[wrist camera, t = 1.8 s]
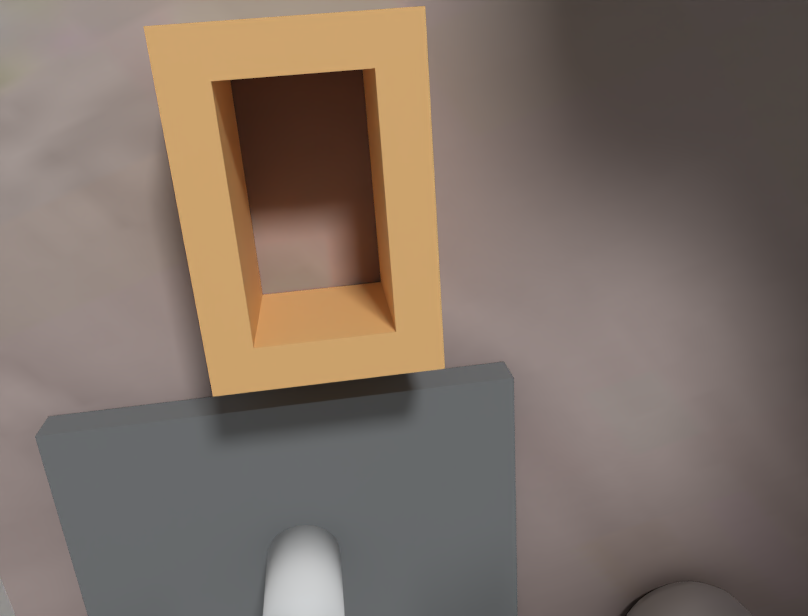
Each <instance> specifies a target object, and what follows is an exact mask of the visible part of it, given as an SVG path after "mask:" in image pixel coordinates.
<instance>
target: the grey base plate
mask: <svg viewBox="0 0 808 616" xmlns="http://www.w3.org/2000/svg"><path fill="white" fill-rule="evenodd" d="M35 438H36V441H37V445H38V448H39V452H40V455H41V458H42V462H43V465H44V468H45V472H46V475H47V479H48V482H49V485H50V489H51V492H52V495H53V499H54V502H55V506H56V509H57V512H58V516H59V519H60V523H61V526H62V529H63V533H64V536H65V539H66V543H67V546H68V550H69V553H70V556H71V560H72V563H73V566H74V570H75V573H76V577H77V580H78V583H79V587H80V590H81V594H82V597H83V600H84V604H85V607H86V610H87V614H88V616H517V553H516V489H515V425H514V377H513V376H512V374H511V373H510V371H509V369H508V368H507V366H506V364H505V363H504V362H497V363H489V364H481V365H472V366H464V367H456V368H447V369H439V370H431V371H422V372H414V373H406V374H398V375H389V376H381V377H373V378H364V379H356V380H348V381H339V382H331V383H323V384H314V385H306V386H298V387H290V388H281V389H273V390H265V391H256V392H248V393H240V394H231V395H223V396H215V397H207V398H198V399H190V400H182V401H173V402H165V403H157V404H148V405H140V406H132V407H123V408H115V409H107V410H99V411H90V412H82V413H74V414H65V415H57V416H49V417H48V418H47V420H46V421H45V423H44V424H43V426H42V427H41V429H40V430H39V432H38V433H37V435H36V436H35Z"/></svg>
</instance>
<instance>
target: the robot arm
mask: <svg viewBox="0 0 808 616" xmlns="http://www.w3.org/2000/svg"><path fill="white" fill-rule="evenodd" d="M0 616H15V613H14V611H13V608H12V606H11V603H10V601H9V598H8V595H7V593H6V590H5V588H4V585H3V583H2V580H1V578H0Z"/></svg>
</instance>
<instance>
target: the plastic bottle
mask: <svg viewBox="0 0 808 616" xmlns="http://www.w3.org/2000/svg"><path fill="white" fill-rule="evenodd" d="M626 616H753V615H752V614H751V613H750V612H749V611H748V610H747V609H746V608H745V607H744V606H743V605H742V604H741V603H740V602H738V601H737V600H736V599H735V598H734V597H733V596H732V595H731V594H729V593H728V592H726V591H725V590H723V589H720V588H717V587H715V586H712V585H708V584H705V583H701V582H694V581H681V582H676V583H671V584H668V585H665V586H662V587H659V588H657V589H655V590H653V591H652V592H650V593H648V594H647V595H645V596H644V597H643V598H641V599H640V600H639V601H638V602H637V603H636V604H635V605H634V606H633V607H632V608H631V610H630V611H629V612H628V614H627V615H626Z"/></svg>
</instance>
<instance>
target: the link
mask: <svg viewBox="0 0 808 616" xmlns="http://www.w3.org/2000/svg"><path fill="white" fill-rule="evenodd" d="M144 31H145V37H146V42H147V47H148V53H149V58H150V63H151V69H152V74H153V79H154V85H155V90H156V95H157V101H158V106H159V111H160V117H161V122H162V127H163V133H164V138H165V143H166V149H167V154H168V159H169V165H170V170H171V175H172V181H173V186H174V191H175V197H176V202H177V207H178V213H179V218H180V223H181V229H182V234H183V239H184V245H185V250H186V255H187V261H188V266H189V271H190V277H191V282H192V287H193V293H194V298H195V303H196V309H197V314H198V319H199V325H200V330H201V335H202V341H203V346H204V351H205V357H206V362H207V367H208V373H209V378H210V383H211V389H212V394H213V397H214V396H222V395H231V394H239V393H247V392H256V391H264V390H272V389H280V388H289V387H297V386H305V385H314V384H322V383H330V382H339V381H347V380H355V379H364V378H372V377H380V376H388V375H397V374H405V373H413V372H422V371H430V370H438V369H445V363H444V345H443V326H442V308H441V290H440V271H439V253H438V234H437V216H436V198H435V179H434V161H433V142H432V124H431V106H430V87H429V69H428V50H427V32H426V13H425V6H419V7H406V8H392V9H378V10H364V11H350V12H336V13H322V14H308V15H294V16H280V17H267V18H253V19H239V20H225V21H211V22H197V23H183V24H169V25H155V26H144ZM359 69H363V80H364V92H365V103H366V115H367V126H368V138H369V150H370V161H371V173H372V185H373V196H374V208H375V219H376V231H377V243H378V254H379V266H380V278H381V282H377V283H367V284H358V285H349V286H339V287H330V288H321V289H312V290H302V291H293V292H284V293H275V294H265V295H262V288H261V281H260V275H259V268H258V261H257V255H256V248H255V241H254V235H253V228H252V221H251V215H250V208H249V201H248V195H247V188H246V182H245V175H244V168H243V162H242V155H241V148H240V142H239V135H238V128H237V122H236V115H235V108H234V102H233V95H232V88H231V82H230V80H234V79H246V78H259V77H271V76H284V75H297V74H309V73H322V72H334V71H347V70H359Z"/></svg>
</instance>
